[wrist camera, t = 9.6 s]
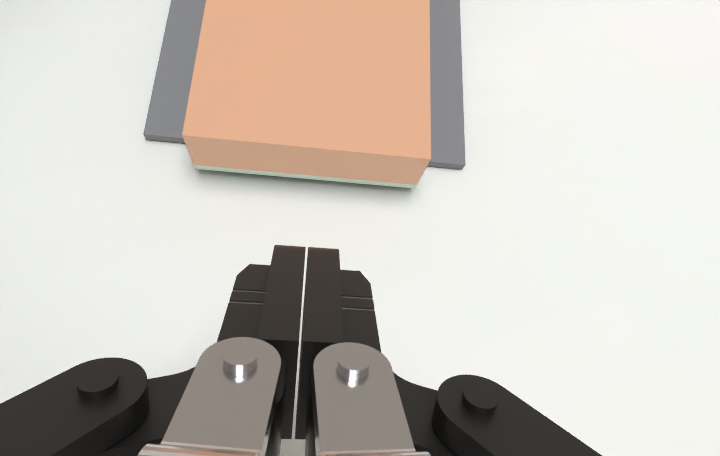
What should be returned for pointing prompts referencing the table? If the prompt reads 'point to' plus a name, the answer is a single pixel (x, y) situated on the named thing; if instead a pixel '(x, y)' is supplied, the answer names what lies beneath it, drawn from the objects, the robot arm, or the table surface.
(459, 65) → the slate mat
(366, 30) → the tile
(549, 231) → the table surface
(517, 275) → the table surface
